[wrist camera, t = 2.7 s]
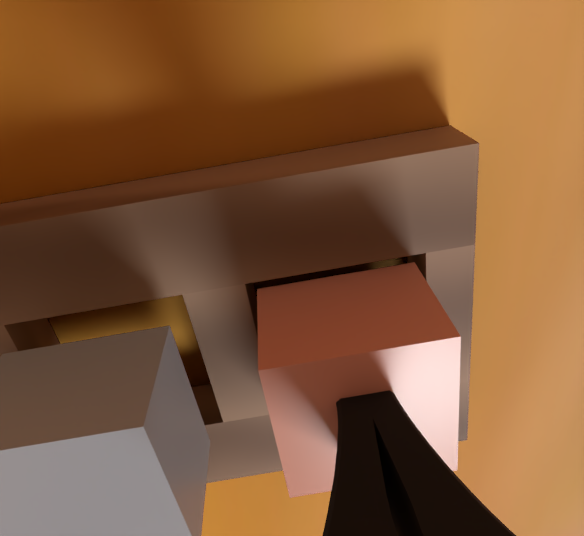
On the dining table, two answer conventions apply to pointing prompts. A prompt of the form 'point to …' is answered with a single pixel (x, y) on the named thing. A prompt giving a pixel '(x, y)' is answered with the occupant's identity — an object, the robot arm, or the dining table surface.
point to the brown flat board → (245, 256)
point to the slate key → (101, 440)
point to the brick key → (354, 363)
